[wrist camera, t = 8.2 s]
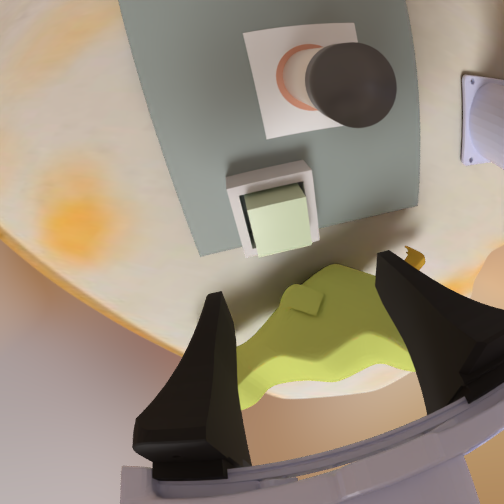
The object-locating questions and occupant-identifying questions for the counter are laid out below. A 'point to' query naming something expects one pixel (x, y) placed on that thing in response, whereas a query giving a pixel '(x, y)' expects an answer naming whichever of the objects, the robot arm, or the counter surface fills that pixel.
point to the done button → (279, 219)
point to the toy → (323, 333)
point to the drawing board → (271, 110)
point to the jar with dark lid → (343, 82)
